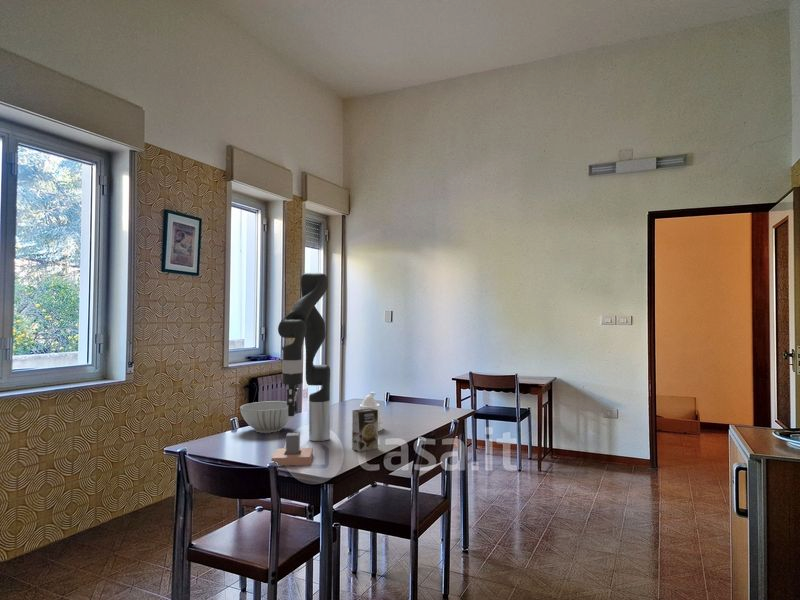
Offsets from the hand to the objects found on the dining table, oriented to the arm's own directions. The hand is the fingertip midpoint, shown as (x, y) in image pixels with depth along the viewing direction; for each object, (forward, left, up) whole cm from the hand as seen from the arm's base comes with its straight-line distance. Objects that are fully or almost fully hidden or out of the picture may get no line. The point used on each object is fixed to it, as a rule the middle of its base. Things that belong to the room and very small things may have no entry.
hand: (292, 413), depth 197 cm
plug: (0, 0, -18) cm, 18 cm away
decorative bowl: (-56, -18, -18) cm, 61 cm away
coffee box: (-14, +28, -18) cm, 36 cm away
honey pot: (-52, +31, -18) cm, 63 cm away
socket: (0, 0, -18) cm, 18 cm away
